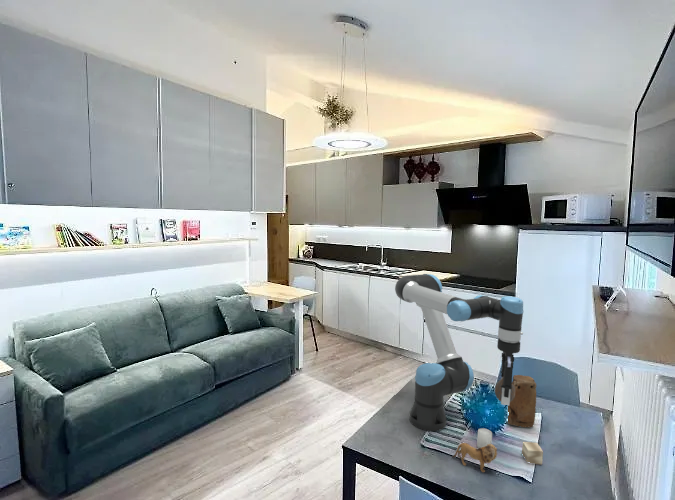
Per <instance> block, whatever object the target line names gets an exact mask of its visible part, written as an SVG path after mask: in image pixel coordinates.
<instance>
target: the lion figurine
mask: <svg viewBox="0 0 675 500" xmlns="http://www.w3.org/2000/svg"><path fill="white" fill-rule="evenodd" d="M497 450H498V449H497V447H496V446H495V445H494V444H487V446H484V447H481V448H478V447H477V448H476V447H474V446H471V445H470V444H469V443H467V442H461V443H460V444H459V445H458V446H457V449H456V451H455V454H453V455H452V456H451V458H452V459H454V458H455V457H457V458H458V459H460V460H461V464H462V465H463V466H465V467H466V466H467V463H466V462H465V458H466V456H467V455H468V456H469V457H470V458H471V459H472V460H473V459H474V460H475V461H479V467H480V472H482V473H485V472H486V470H485V469H484V468H485V464H490V463H491V462H492V461H494V460H495V459H496V458H497V457H498V451H497Z"/></svg>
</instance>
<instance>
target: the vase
mask: <svg viewBox="0 0 675 500" xmlns="http://www.w3.org/2000/svg"><path fill="white" fill-rule="evenodd" d="M503 377H504V376H503ZM503 377H501V378H502V379H501V378H500V379H499V380H498V381H497V382H496V384H495V386H494V393H495V394H494V395H495V397H496V399H498V401H500V402H501V398H502V387H501V386H503ZM514 397H515V387H514V385H513V384H512V389H511V392H510V402H511V401H512V400H513V399H514Z"/></svg>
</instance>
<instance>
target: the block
mask: <svg viewBox="0 0 675 500" xmlns="http://www.w3.org/2000/svg"><path fill="white" fill-rule="evenodd" d="M512 384H513V385H514V387H515V397H514V399H513V400H512V401H511V402H510V405H509V406H508V412H509V416H508V423H507V424H508V425H510V426H516V427H519V426H521V427H520V428H526V427H527V428H532V427H534V424H535V420H536V413H537V412H536V411H537V410H536V407H537V382H535V380H534V378H533V377H531V376H529V375H522V374H516V375H512Z"/></svg>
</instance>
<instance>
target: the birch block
mask: <svg viewBox="0 0 675 500" xmlns="http://www.w3.org/2000/svg"><path fill="white" fill-rule="evenodd" d="M521 449H522V450H521V455H522V454H523V456H524V457H525V459H526V460H525V459H524V460H525V462H526V461H527V462H530V463H535V464H534V465H543V461H544V460H543V458H544V457H543V456H544V451H543V449H542V448H541V446H540V445H539V443H538V442H532V441H531V442H530V441H523V442H522V447H521ZM523 456H522V457H523ZM524 457H523V458H524ZM527 462H526V463H527Z"/></svg>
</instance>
